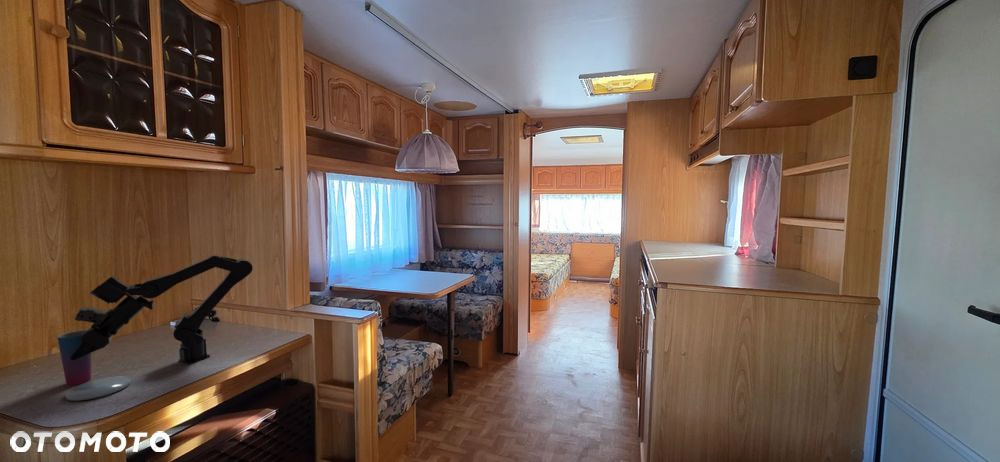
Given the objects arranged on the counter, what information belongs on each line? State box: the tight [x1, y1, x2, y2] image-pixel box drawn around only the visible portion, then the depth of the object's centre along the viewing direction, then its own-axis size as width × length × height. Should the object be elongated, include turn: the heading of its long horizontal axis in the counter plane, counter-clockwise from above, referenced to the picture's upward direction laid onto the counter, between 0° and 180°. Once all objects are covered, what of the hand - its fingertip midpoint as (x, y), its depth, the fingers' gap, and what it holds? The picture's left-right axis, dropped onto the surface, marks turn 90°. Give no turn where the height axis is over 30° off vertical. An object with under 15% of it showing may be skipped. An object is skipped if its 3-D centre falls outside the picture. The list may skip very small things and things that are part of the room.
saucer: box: [65, 375, 132, 402], centre depth 111 cm, size 13×13×1 cm
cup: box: [57, 329, 92, 387], centre depth 116 cm, size 7×7×15 cm
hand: (75, 354), depth 115 cm, fingers open, 9 cm apart
